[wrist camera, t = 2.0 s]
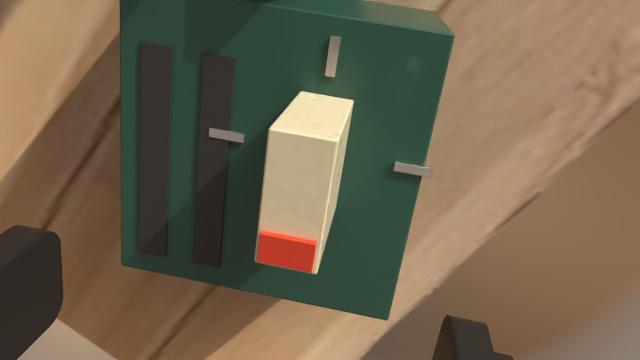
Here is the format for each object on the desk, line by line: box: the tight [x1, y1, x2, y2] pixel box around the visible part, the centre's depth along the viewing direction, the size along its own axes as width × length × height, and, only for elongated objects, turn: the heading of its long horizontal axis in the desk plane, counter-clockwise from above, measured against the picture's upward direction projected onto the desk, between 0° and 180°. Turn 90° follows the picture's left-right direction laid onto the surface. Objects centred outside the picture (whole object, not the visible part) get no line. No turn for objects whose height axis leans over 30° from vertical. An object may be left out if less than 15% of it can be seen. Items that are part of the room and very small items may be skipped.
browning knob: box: [254, 91, 354, 274], centre depth 17 cm, size 4×2×5 cm, turn 172°
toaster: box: [120, 0, 455, 320], centre depth 25 cm, size 12×12×11 cm
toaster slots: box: [139, 41, 236, 268], centre depth 21 cm, size 9×4×1 cm, turn 172°
